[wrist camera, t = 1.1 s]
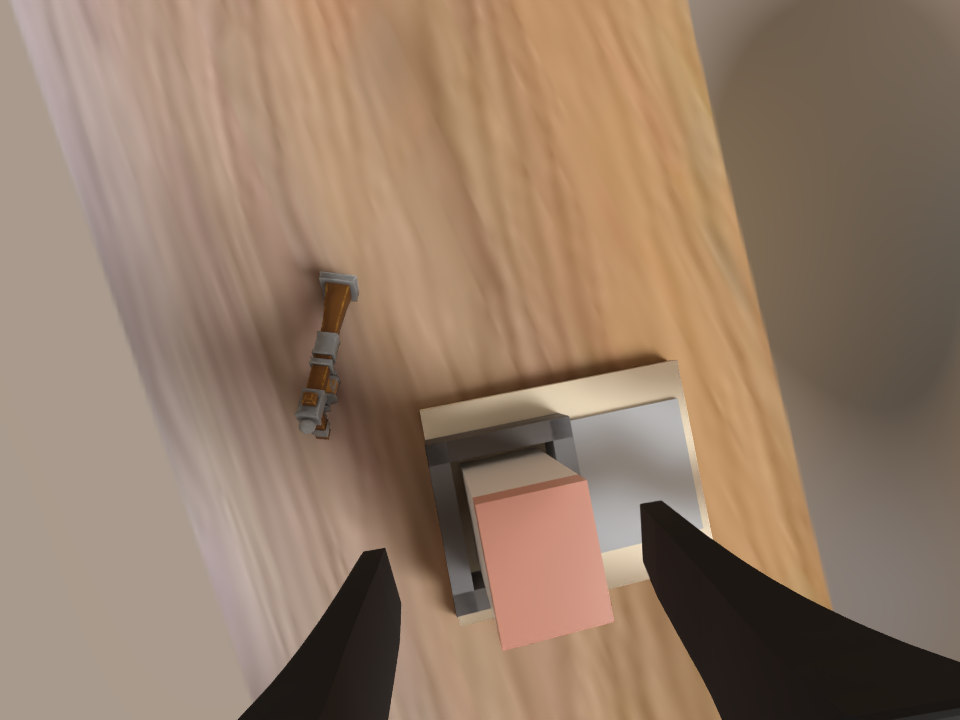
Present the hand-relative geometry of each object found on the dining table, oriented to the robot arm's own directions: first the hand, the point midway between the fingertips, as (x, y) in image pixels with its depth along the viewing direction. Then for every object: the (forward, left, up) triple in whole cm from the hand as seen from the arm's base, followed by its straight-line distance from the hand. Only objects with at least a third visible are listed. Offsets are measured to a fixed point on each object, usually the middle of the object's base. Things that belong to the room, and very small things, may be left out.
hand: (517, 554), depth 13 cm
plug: (-2, -1, -11) cm, 11 cm away
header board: (-2, -5, -12) cm, 13 cm away
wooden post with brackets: (+7, +6, -12) cm, 16 cm away
